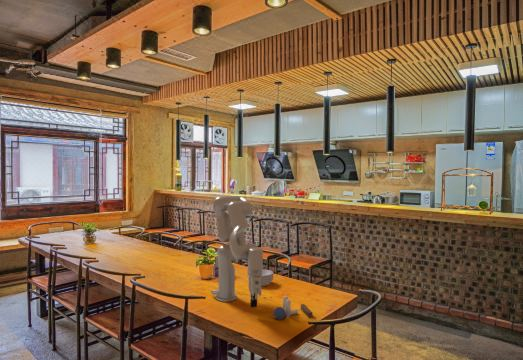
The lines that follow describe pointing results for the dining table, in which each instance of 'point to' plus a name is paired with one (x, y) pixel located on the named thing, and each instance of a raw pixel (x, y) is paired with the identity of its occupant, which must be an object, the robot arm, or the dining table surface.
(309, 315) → the wall
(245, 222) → the robot arm
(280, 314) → the ball
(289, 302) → the back right pin
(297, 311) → the front pin
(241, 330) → the dining table surface
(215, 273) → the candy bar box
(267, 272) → the paper bowls
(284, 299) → the back left pin
